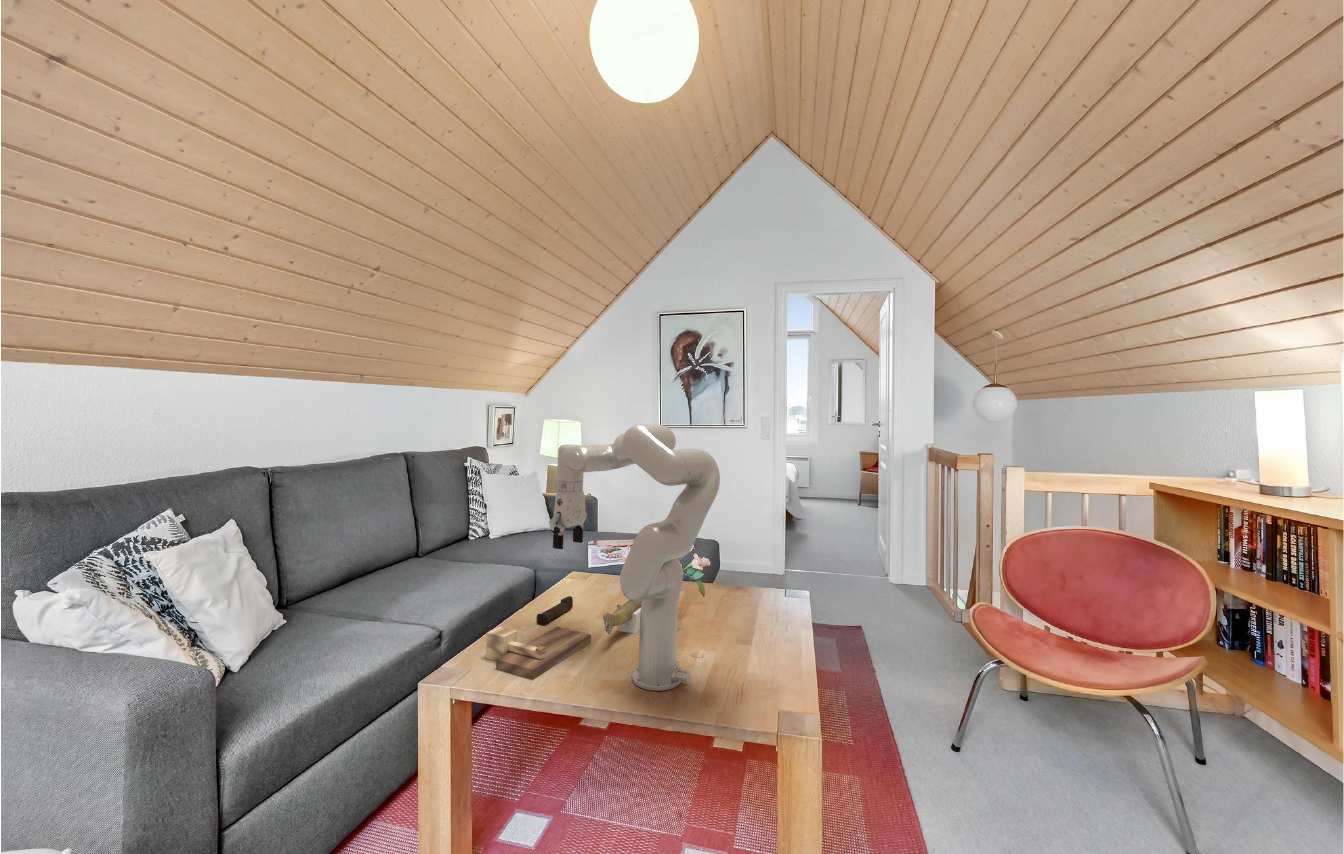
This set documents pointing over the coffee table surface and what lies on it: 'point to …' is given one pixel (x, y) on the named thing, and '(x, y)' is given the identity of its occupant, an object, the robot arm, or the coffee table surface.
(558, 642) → the board
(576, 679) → the coffee table surface
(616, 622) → the wood carving
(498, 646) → the beige block with stick
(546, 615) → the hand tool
